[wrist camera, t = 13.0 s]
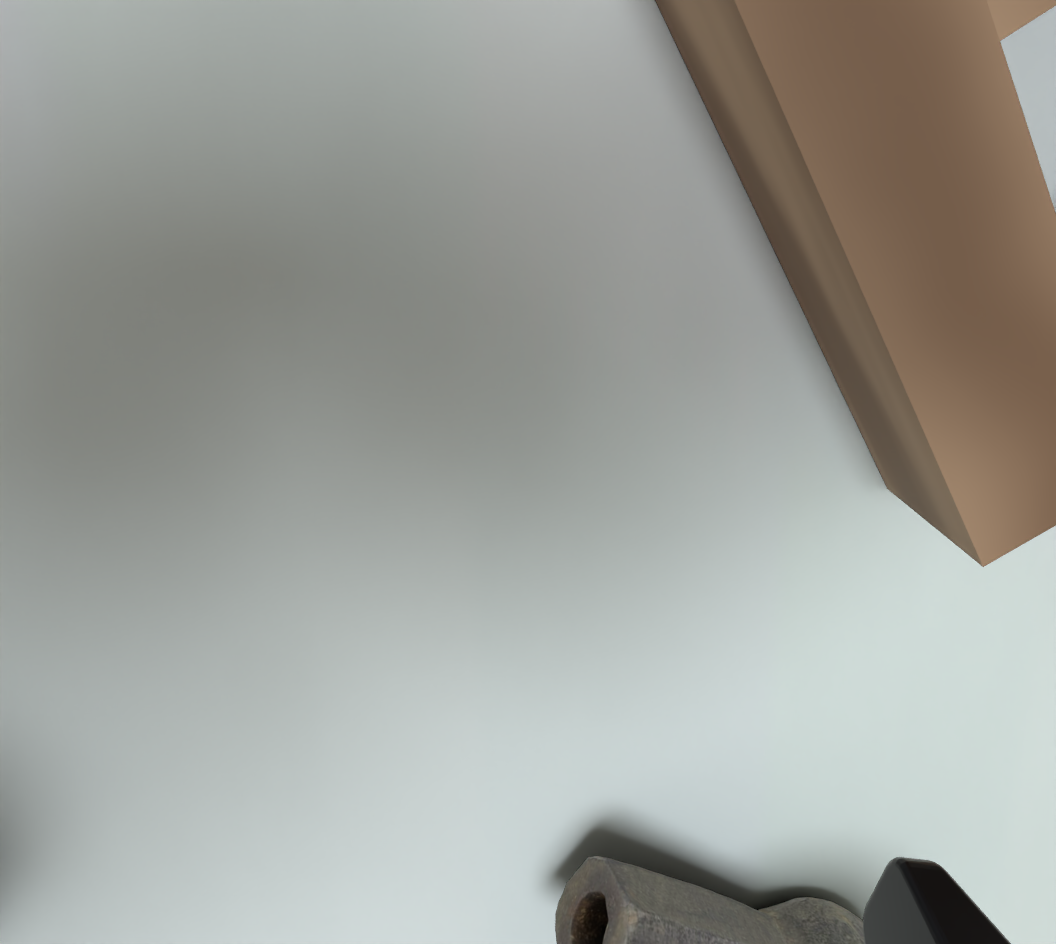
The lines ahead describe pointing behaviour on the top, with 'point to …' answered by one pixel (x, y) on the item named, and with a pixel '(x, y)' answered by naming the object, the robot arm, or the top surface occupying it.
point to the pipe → (686, 912)
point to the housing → (904, 233)
